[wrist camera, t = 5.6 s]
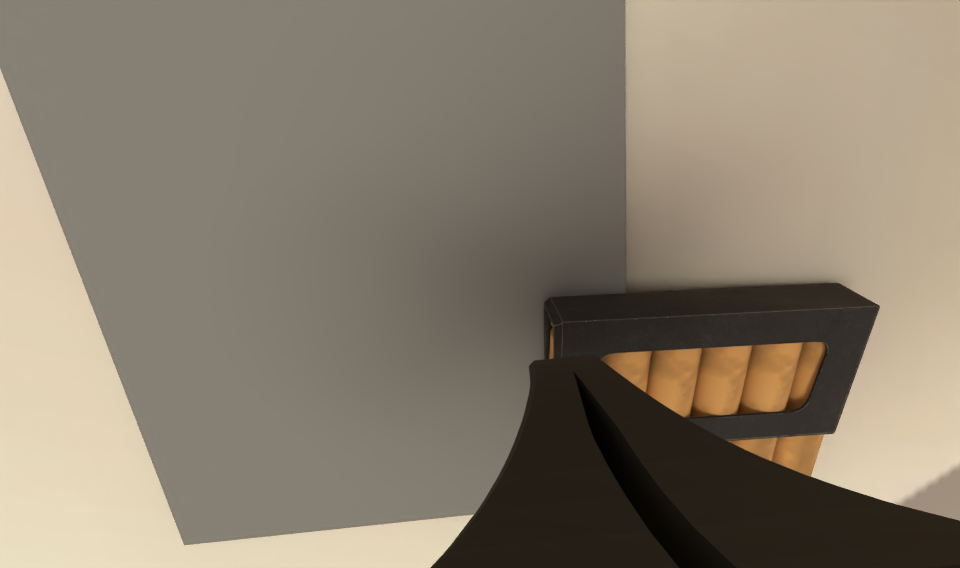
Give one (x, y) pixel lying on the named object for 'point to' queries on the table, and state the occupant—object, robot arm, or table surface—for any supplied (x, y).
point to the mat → (326, 232)
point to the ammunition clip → (729, 357)
